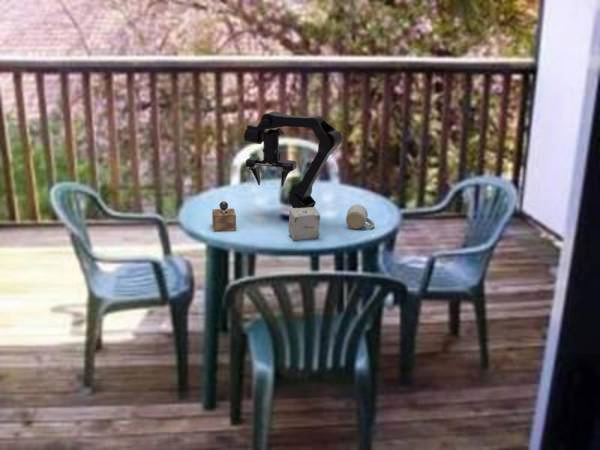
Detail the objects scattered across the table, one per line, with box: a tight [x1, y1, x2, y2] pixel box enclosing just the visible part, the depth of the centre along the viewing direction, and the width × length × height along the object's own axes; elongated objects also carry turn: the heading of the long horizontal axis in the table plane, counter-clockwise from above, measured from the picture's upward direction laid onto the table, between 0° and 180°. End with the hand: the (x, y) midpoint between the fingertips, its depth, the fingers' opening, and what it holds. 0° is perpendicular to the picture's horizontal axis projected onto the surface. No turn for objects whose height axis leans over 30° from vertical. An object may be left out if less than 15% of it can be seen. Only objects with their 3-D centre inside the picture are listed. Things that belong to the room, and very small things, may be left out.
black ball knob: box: [219, 200, 229, 213], centre depth 277 cm, size 6×6×9 cm
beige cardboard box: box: [288, 206, 321, 242], centre depth 268 cm, size 10×8×10 cm
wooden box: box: [211, 208, 237, 232], centre depth 277 cm, size 8×8×6 cm
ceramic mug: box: [345, 204, 376, 230], centre depth 281 cm, size 11×8×8 cm
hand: (270, 185), depth 286 cm, fingers open, 9 cm apart
